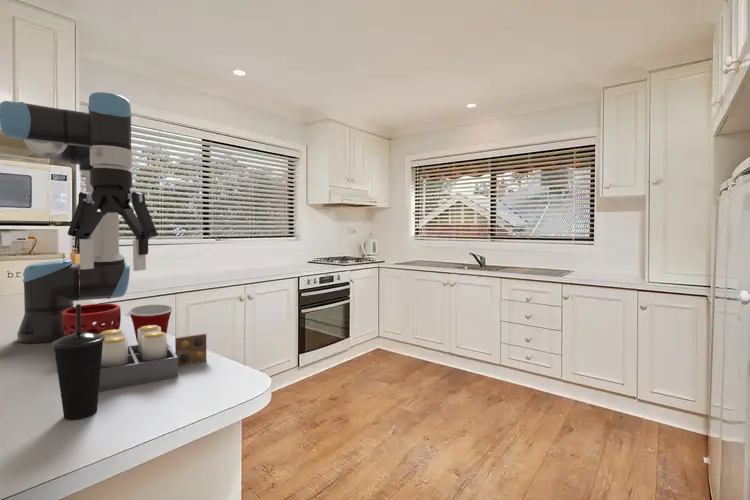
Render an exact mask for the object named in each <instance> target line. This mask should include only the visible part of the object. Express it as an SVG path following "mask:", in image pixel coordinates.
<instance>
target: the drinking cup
mask: <svg viewBox="0 0 750 500" xmlns="http://www.w3.org/2000/svg"><path fill="white" fill-rule="evenodd" d="M81 306H82V304H76V305H75V307H76V325H77V333H72V334H69V335H66V336H64V337H62V338H60V339H58V340H55V341H52V343H51V347H52V348H53V349H54V355H55V364H56V370H57V377H58V384H59V391H60V398H61V407H62V412H63V419H65V420H67V421H75V420H83V419H85V418H89V417H92V416H93V415H95V414H96V413H97V412H98V403H99V394H100V393H99V382H100V371H101V359H102V347H103V341H104V340H105V337H104V336H103V335H99V334H96V333H91V332H81Z"/></svg>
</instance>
